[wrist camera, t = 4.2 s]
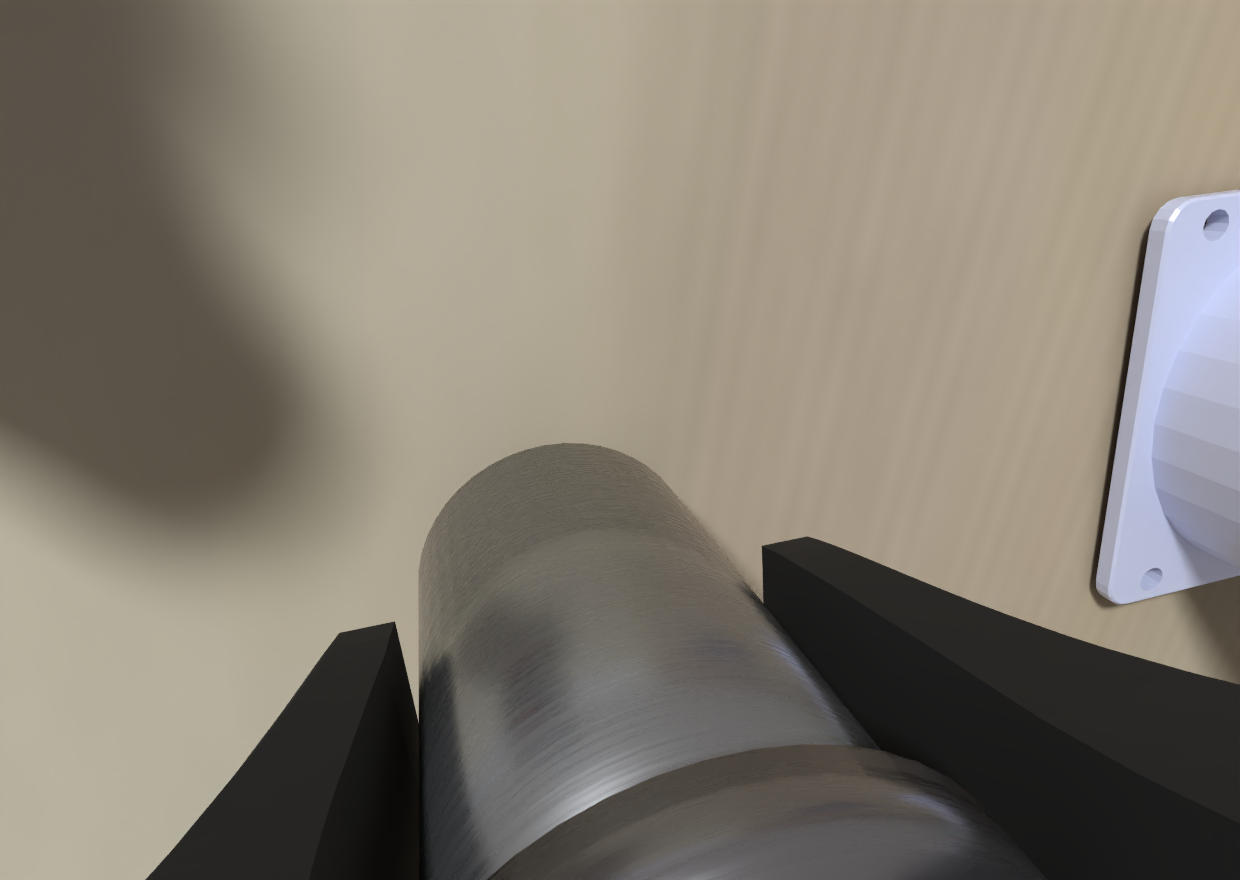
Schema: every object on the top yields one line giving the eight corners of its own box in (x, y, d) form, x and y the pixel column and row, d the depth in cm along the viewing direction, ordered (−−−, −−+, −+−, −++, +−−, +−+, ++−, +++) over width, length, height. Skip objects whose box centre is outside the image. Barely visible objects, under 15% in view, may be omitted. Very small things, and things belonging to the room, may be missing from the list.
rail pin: (703, 397, 11) (1164, 755, 4) (718, 668, 12) (1063, 1236, 6) (363, 454, 10) (252, 1038, 3) (428, 739, 11) (445, 1512, 5)
